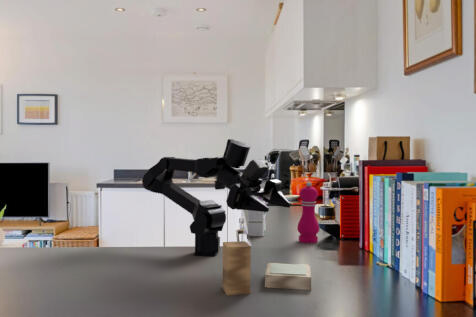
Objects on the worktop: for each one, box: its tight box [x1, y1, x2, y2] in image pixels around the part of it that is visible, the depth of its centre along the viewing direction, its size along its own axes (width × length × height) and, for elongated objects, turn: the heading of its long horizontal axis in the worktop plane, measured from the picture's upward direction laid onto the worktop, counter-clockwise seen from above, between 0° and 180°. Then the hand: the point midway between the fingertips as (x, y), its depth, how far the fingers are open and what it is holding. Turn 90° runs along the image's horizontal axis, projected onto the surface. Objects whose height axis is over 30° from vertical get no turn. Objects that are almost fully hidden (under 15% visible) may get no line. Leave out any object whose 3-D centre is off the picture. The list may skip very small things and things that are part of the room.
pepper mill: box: [297, 181, 320, 244], centre depth 140 cm, size 7×7×20 cm
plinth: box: [264, 262, 312, 291], centre depth 96 cm, size 10×10×3 cm
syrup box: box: [247, 198, 267, 237], centre depth 150 cm, size 6×6×14 cm
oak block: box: [222, 240, 252, 296], centre depth 90 cm, size 5×5×10 cm
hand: (279, 207), depth 106 cm, fingers open, 9 cm apart
